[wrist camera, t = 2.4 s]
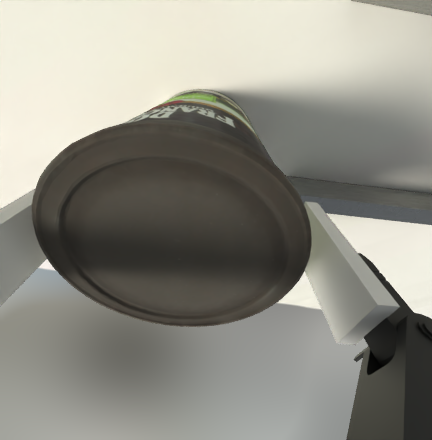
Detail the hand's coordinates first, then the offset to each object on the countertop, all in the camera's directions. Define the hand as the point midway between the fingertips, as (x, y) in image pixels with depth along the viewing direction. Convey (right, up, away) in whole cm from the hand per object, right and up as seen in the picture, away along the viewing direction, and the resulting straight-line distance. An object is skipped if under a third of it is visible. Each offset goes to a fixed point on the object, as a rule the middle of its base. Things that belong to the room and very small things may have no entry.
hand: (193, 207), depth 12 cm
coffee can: (0, +6, +7) cm, 9 cm away
